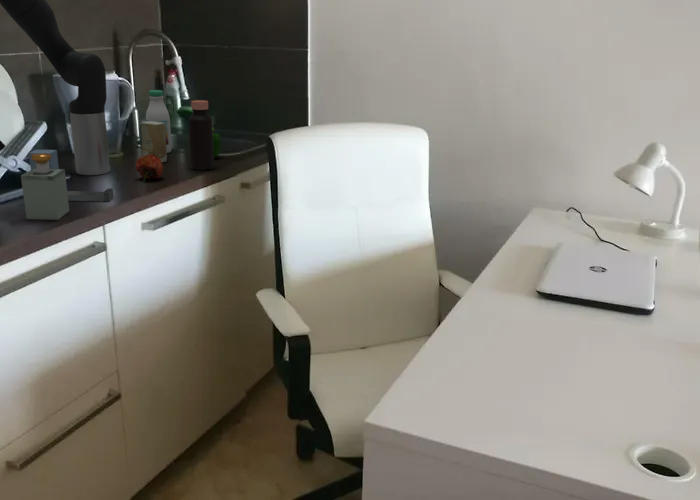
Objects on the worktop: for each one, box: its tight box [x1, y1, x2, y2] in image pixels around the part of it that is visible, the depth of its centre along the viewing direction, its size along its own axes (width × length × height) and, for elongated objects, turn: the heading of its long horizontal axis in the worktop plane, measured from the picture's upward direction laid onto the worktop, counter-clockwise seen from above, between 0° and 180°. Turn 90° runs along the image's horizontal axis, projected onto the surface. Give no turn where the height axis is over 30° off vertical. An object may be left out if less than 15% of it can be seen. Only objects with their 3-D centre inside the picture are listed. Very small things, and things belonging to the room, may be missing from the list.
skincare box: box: [140, 120, 168, 163], centre depth 211 cm, size 6×4×12 cm
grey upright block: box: [20, 168, 70, 221], centre depth 155 cm, size 7×7×10 cm
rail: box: [67, 188, 114, 202], centre depth 170 cm, size 4×20×2 cm, turn 92°
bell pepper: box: [212, 127, 222, 159], centre depth 218 cm, size 8×8×10 cm
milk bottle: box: [145, 89, 173, 154], centre depth 224 cm, size 8×8×20 cm
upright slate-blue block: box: [28, 149, 60, 170], centre depth 168 cm, size 6×5×12 cm
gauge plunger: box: [31, 153, 51, 175], centre depth 153 cm, size 4×4×7 cm
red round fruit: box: [135, 154, 164, 183], centre depth 190 cm, size 7×7×10 cm
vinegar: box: [188, 99, 215, 171], centre depth 203 cm, size 7×7×20 cm
